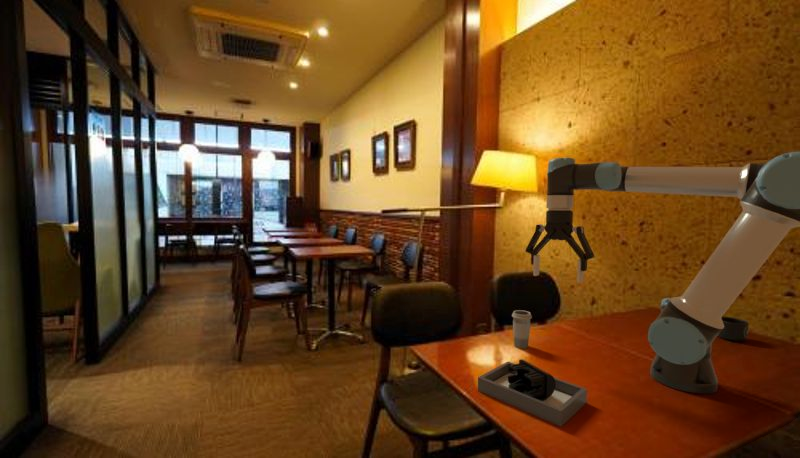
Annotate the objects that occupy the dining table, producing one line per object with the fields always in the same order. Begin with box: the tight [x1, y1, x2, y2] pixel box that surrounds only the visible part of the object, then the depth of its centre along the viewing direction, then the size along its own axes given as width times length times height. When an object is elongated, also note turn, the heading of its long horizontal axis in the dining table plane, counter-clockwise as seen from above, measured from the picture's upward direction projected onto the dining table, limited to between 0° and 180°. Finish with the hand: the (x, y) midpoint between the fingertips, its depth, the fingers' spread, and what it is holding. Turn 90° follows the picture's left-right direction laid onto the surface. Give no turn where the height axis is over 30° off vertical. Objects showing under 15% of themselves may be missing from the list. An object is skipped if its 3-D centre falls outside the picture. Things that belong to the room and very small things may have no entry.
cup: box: [511, 309, 533, 350], centre depth 130 cm, size 7×7×12 cm
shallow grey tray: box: [477, 361, 588, 428], centre depth 95 cm, size 22×15×4 cm
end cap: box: [508, 359, 556, 401], centre depth 95 cm, size 10×7×7 cm
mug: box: [717, 316, 750, 342], centre depth 140 cm, size 12×9×7 cm
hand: (557, 278), depth 115 cm, fingers open, 13 cm apart
